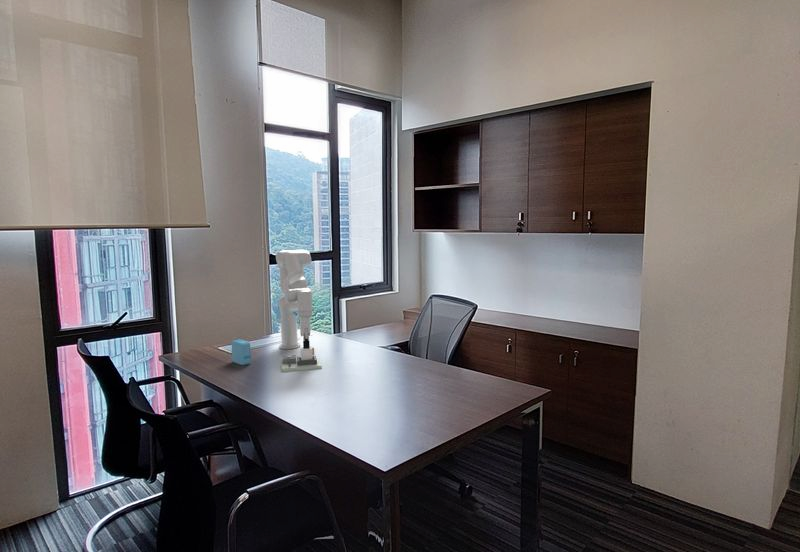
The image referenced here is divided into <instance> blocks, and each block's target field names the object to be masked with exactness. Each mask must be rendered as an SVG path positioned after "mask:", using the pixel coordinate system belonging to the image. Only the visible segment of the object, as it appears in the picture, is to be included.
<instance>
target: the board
mask: <svg viewBox="0 0 800 552" xmlns="http://www.w3.org/2000/svg"><path fill="white" fill-rule="evenodd" d="M281 357H282V358H281V359H282V360H281V372H282V373H283V372H294V371H295V370H297V371H307V370H308V369H309V370H319V369H322V367H323V366H322V363H321V359H320V357H317V356H316V355H313V359H310V360H301V356H298V357H297V355H296V354H293V355H283V356H281Z"/></svg>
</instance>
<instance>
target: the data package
mask: <svg viewBox="0 0 800 552" xmlns="http://www.w3.org/2000/svg"><path fill="white" fill-rule="evenodd" d="M230 345H231V359H232V362H233V363H235V364H237V365H241V366H245V365H249V364H251V362H252V358H251V357H252V356H251V353H252V352H251V343H250V342H249V341H248V340H244V339H239V338H238V339H235V340H232V341H231V344H230Z"/></svg>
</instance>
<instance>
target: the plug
mask: <svg viewBox="0 0 800 552" xmlns="http://www.w3.org/2000/svg"><path fill="white" fill-rule="evenodd" d="M299 348H300V357H301V360H310V359H313V356H315V347H314V346H310V348H307V349H304V348H303V347H301V346H300V347H299Z"/></svg>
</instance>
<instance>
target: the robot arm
mask: <svg viewBox="0 0 800 552" xmlns="http://www.w3.org/2000/svg"><path fill="white" fill-rule="evenodd" d="M275 261H276V264H277V267H278V269H279V280H280V285H279V286H280V292H281V293H283V295H282V296H280V297H279V298H278V301H277V302H278V307H279V308H278V309H279V314H280V332H281V333H280V334H281V335H280V336H281V337H280V339H281V344H279V345H278V348H279V349H282V350H292V349H293V350H294V349H298V348H301V343H299V342H298V340H299V338H298V319H297V318H299V330H300V331H299V335H300V337H302V338H303V340H302V346H303V348H304V349H307V348H310V347H311V346H310V344H311V343H310V336H311V326H312V325H311V317H313V314H314V313H313V291H312V290H311V289H310V288H309V286H308V280H307V279H306V278H305V277H304V275H305V272H304V271H305V270H304V267H309V266H310V265H311V263H312V257H311V253H310V252H309V251H308V250H305V249H296V250H295V249H294V250H292V249H290V250H280V251H277V253H276V254H275ZM294 311H297V316H296V314H295V313H293V312H294Z"/></svg>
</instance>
